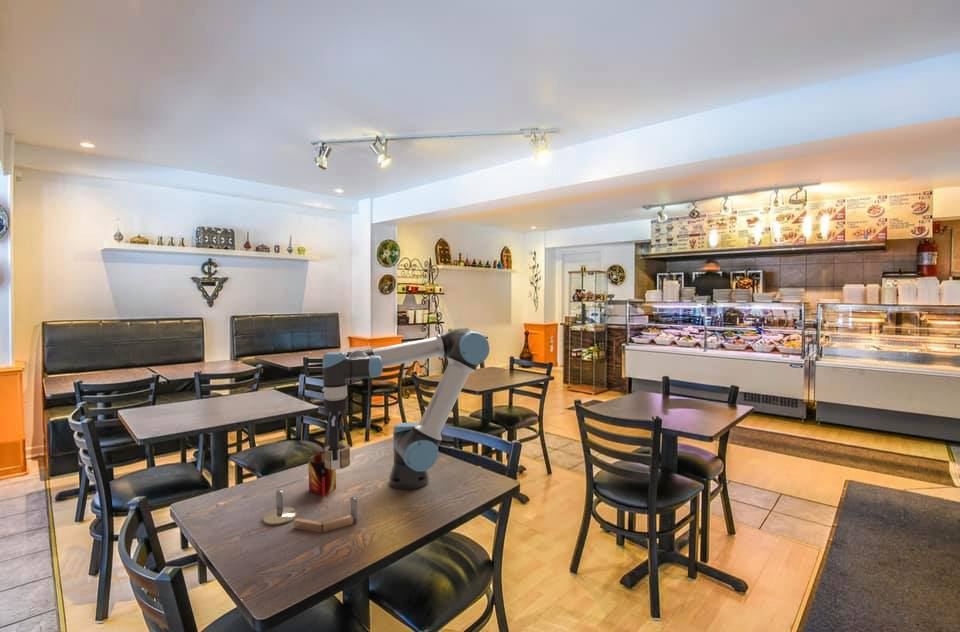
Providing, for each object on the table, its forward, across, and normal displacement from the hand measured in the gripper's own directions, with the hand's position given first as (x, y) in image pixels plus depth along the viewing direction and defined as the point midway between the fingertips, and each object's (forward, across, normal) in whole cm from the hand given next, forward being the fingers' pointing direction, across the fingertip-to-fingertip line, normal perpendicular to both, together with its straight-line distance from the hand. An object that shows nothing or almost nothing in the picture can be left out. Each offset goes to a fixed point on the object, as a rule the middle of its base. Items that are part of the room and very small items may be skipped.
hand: (337, 464), depth 160 cm
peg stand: (+16, +3, -18) cm, 24 cm away
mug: (+16, -16, -7) cm, 24 cm away
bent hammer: (+16, +12, -3) cm, 20 cm away
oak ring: (0, 0, 0) cm, 0 cm away
